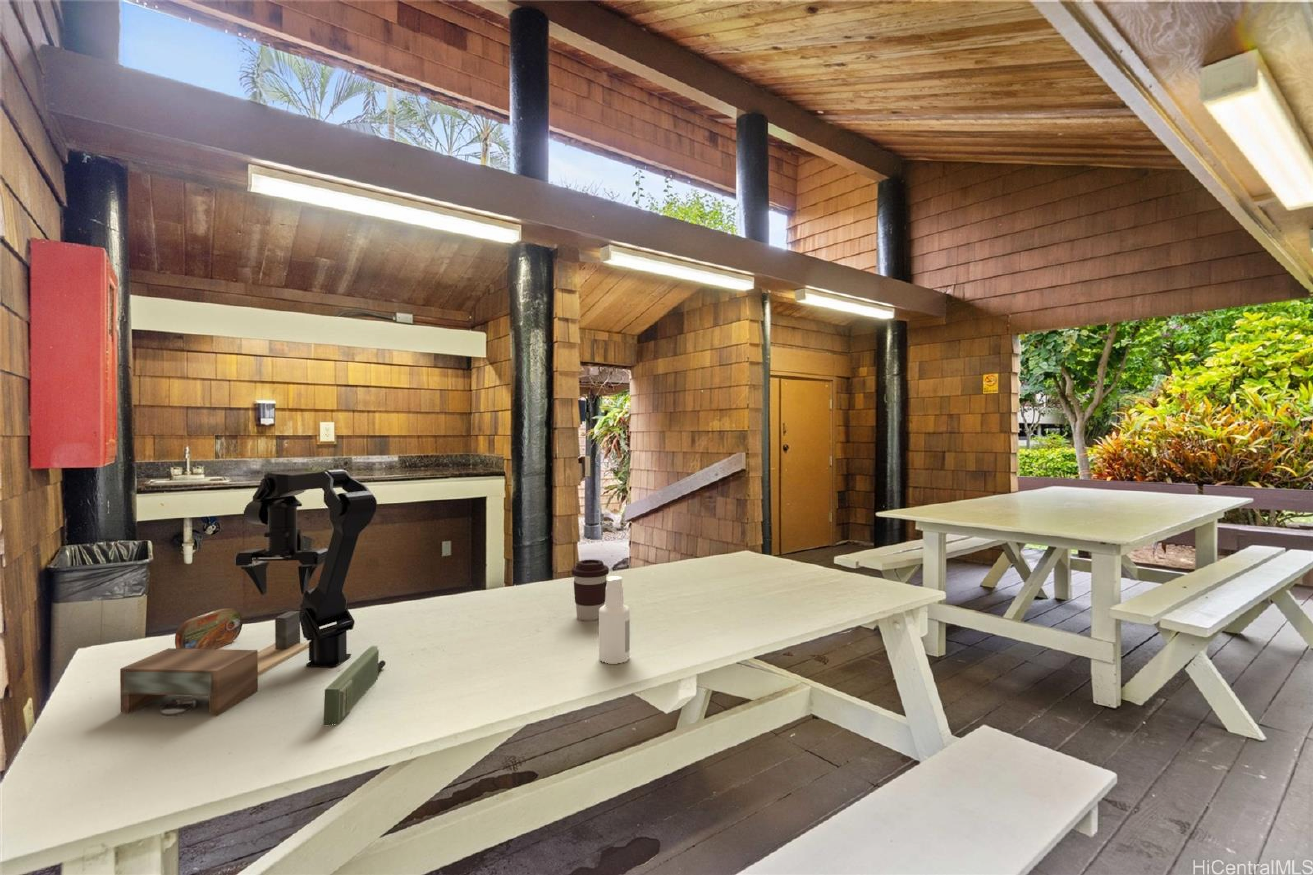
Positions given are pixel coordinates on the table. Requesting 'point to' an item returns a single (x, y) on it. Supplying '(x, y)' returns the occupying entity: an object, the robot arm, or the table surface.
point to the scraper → (282, 642)
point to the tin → (209, 630)
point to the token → (178, 707)
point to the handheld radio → (351, 686)
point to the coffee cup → (589, 588)
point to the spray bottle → (614, 624)
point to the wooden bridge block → (191, 677)
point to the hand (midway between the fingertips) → (283, 594)
